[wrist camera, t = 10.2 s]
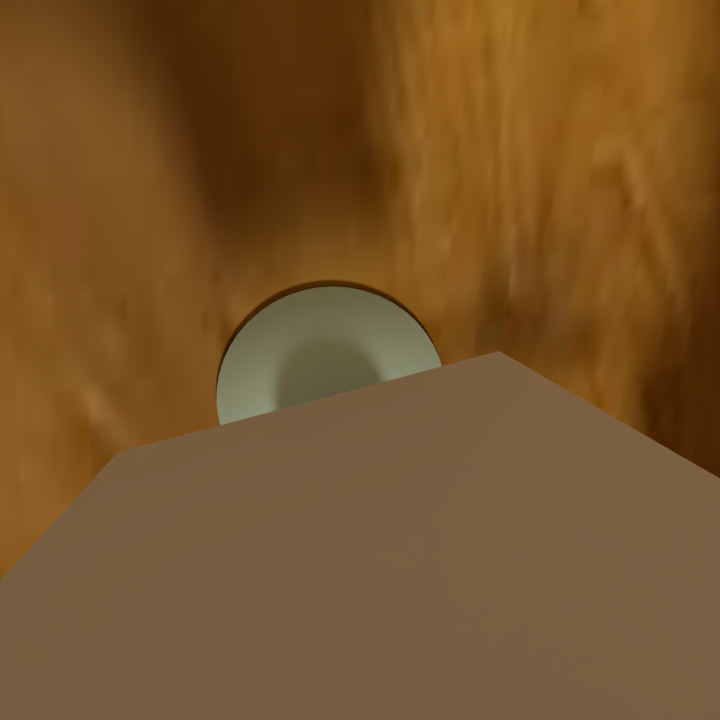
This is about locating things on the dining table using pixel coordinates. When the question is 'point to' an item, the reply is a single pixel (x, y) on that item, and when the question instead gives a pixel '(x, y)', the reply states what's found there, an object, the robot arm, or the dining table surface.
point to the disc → (318, 351)
